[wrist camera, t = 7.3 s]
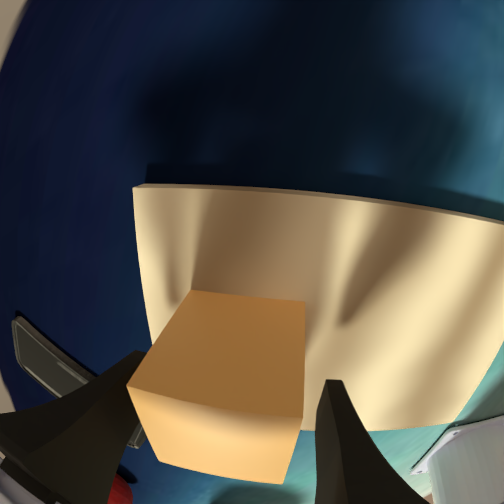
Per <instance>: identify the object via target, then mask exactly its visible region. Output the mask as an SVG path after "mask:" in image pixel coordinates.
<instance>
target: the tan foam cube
mask: <svg viewBox="0 0 504 504" xmlns="http://www.w3.org/2000/svg"><path fill="white" fill-rule="evenodd" d="M304 381H305V302H303V301H292V300H281V299H270V298H260V297H250V296H241V295H232V294H223V293H214V292H206V291H198V290H190V291H189V292H188V294H187V295H186V297H185V298H184V300H183V301H182V303H181V304H180V306H179V307H178V308H177V310H176V311H175V313H174V314H173V316H172V317H171V319H170V320H169V322H168V323H167V325H166V326H165V328H164V329H163V331H162V332H161V333H160V335H159V336H158V338H157V339H156V341H155V342H154V344H153V345H152V347H151V348H150V350H149V351H148V353H147V354H146V356H145V357H144V359H143V360H142V362H141V364H140V365H139V367H138V368H137V370H136V371H135V373H134V374H133V376H132V377H131V379H130V380H129V382H128V383H127V385H126V386H127V389H128V392H129V394H130V397H131V399H132V402H133V405H134V407H135V409H136V412H137V414H138V417H139V419H140V421H141V424H142V426H143V428H144V431H145V433H146V435H147V437H148V439H149V442H150V444H151V446H152V448H153V450H154V452H155V454H156V456H157V458H158V460H159V461H161V462H164V463H168V464H171V465H175V466H178V467H182V468H186V469H190V470H194V471H198V472H203V473H207V474H212V475H217V476H223V477H228V478H234V479H240V480H247V481H255V482H263V483H273V484H283V481H284V478H285V475H286V472H287V469H288V466H289V463H290V460H291V457H292V454H293V451H294V447H295V444H296V441H297V438H298V434H299V431H300V427H301V424H302V420H303V411H304Z"/></svg>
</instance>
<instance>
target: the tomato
mask: <svg viewBox="0 0 504 504" xmlns="http://www.w3.org/2000/svg"><path fill="white" fill-rule="evenodd" d="M132 501H133V495H132V491H131V488H130V487H129V485H128V484H127V482H126V481H125V480H124V479H123V478H122V477H121V476H119V475H118V474H117V473H116V474H115V477H114V480H113V484H112V487H111V491H110V495H109V499H108V503H107V504H132Z"/></svg>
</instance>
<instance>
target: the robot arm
mask: <svg viewBox="0 0 504 504" xmlns="http://www.w3.org/2000/svg"><path fill="white" fill-rule="evenodd" d="M146 354H147V353H145V352H141V351H137V350H135V351H133V352H132V353H130V354H129V355H128V356H126V357H125V358H123V359H122V360H121V361H119V362H118V363H117V364H115V365H114V366H112V367H111V368H109V369H108V370H107V371H105V372H104V373H102V374H101V375H99V376H98V377H96V378H95V379H93V380H91V381H90V382H88V383H86V384H85V385H83V386H82V387H80V388H78V389H76V390H74V391H73V392H71V393H69V394H67V395H64V396H62V397H60V398H58V399H55V400H53V401H50V402H48V403H45V404H42V405H39V406H36V407H33V408H29V409H25V410H21V411H16V412H9V413H2V414H0V451H1V452H2V453H3V454H4V455H5V456H6V457H5V458H4V460H3V459H2V458H1V457H0V504H107V503H108V499H109V495H110V491H111V487H112V484H113V480H114V477H115V474H116V471H117V468H118V466H119V463H120V460H121V458H122V455H123V452H124V450H125V448H126V446H127V444H128V442H129V440H130V438H131V436H132V434H133V433H134V431H135V429H136V427H137V425H138V424H139V422H140V419H139V417H138V414H137V412H136V409H135V407H134V405H133V402H132V399H131V397H130V394H129V392H128V389H127V386H126V385H127V383H128V382H129V380H130V379H131V377H132V376H133V374H134V373H135V371H136V370H137V368H138V367H139V365H140V364H141V362H142V360H143V359H144V357H145V356H146ZM315 446H316V471H317V486H316V497H315V504H430V503H429V502H427V501H426V500H425V499H423V498H422V497H421V496H420V495H419V494H418V493H417V492H415V491H414V490H413V489H412V488H411V487H410V486H409V485H408V484H407V483H406V482H405V481H404V480H403V479H402V478H401V477H400V476H399V474H398V473H397V472H396V471H395V470H394V469H393V468H392V466H391V465H390V464H389V463H388V462H387V460H386V459H385V458H384V456H383V455H382V454H381V452H380V451H379V449H378V448H377V446H376V445H375V443H374V442H373V440H372V439H371V437H370V435H369V434H368V432H367V430H366V429H365V427H364V425H363V423H362V421H361V419H360V418H359V416H358V414H357V412H356V410H355V408H354V406H353V404H352V401H351V399H350V397H349V395H348V392H347V390H346V388H345V385H344V382H343V381H342V380H335V379H326V381H325V384H324V387H323V391H322V394H321V397H320V400H319V404H318V407H317V410H316V423H315ZM426 472H428V474H429V479H430V484H431V490H432V495H433V501H434V504H504V415H503V416H499V417H496V418H492V419H488V420H485V421H481V422H476V423H472V424H468V425H463V426H458V427H453V428H450V429H448V430H447V431H446V432H445V433H444V434H443V435H442V437H441V438H440V439H439V440H438V441H437V443H436V444H435V445H434V446H433V447H432V448H431V449H430V451H429V452H428V453H427V454H426V455H425V456H424V457H423V458H422V459H421V460H420V461H419V463H418V464H417V465H416V466H415V467H414V468H413V469H412V470H411V471H410V474H411V475H415V474H421V473H426Z"/></svg>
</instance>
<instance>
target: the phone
mask: <svg viewBox="0 0 504 504" xmlns="http://www.w3.org/2000/svg"><path fill="white" fill-rule="evenodd" d="M12 331H13V339H14V346H15V353H16V358H17V361H18V363H19V364H20V366H21V367H22V368H23V369H24V370H25V371H26V372H27V373H28V374H29V375H30V376H31V377H32V378H33V379H35V380H36V381H37V382H38V383H39V384H40V385H42V386H43V387H44V388H45V389H46V390H48V391H49V392H50V393H51V394H52V395H54V396H55V397H56V398H57V399H58V398H60V397H62V396H64V395H67V394H69V393H71V392H73V391H74V390H76V389H78V388H80V387H82V386H83V385H85V384H86V383H88V382H90V381H91V380H93V379H95V378H96V377H95V376H94V375H92V374H91V373H89V372H88V371H86V370H85V369H84V368H82V367H81V366H80V365H78V364H77V363H76V362H74V361H73V360H72V359H70V358H69V357H68V356H67V355H65V354H64V353H63V352H62V351H60V350H59V349H58V348H57V347H55V346H54V345H53V344H52V343H51V342H49V341H48V340H47V339H46V338H45V337H44V336H42V335H41V334H40V333H39V332H38V331H37V330H36V329H35V328H33V327H32V326H31V325H30V324H29V323H28V322H27V321H26V320H25V319H24V318H22V317H21V316H18V317H16V318H15V319H14V320H13V321H12ZM146 438H147V435H146V433H145V431H144V428H143V426H142V424H141V421H140V422H139V424H138V425H137V427H136V429H135V431H134V433H133V434H132V436H131V438H130V440H129V442H128V444H127V445H128V446H130V447H133V448H140V446H141V445H142V444H143V442H144V441H145V439H146Z"/></svg>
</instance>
